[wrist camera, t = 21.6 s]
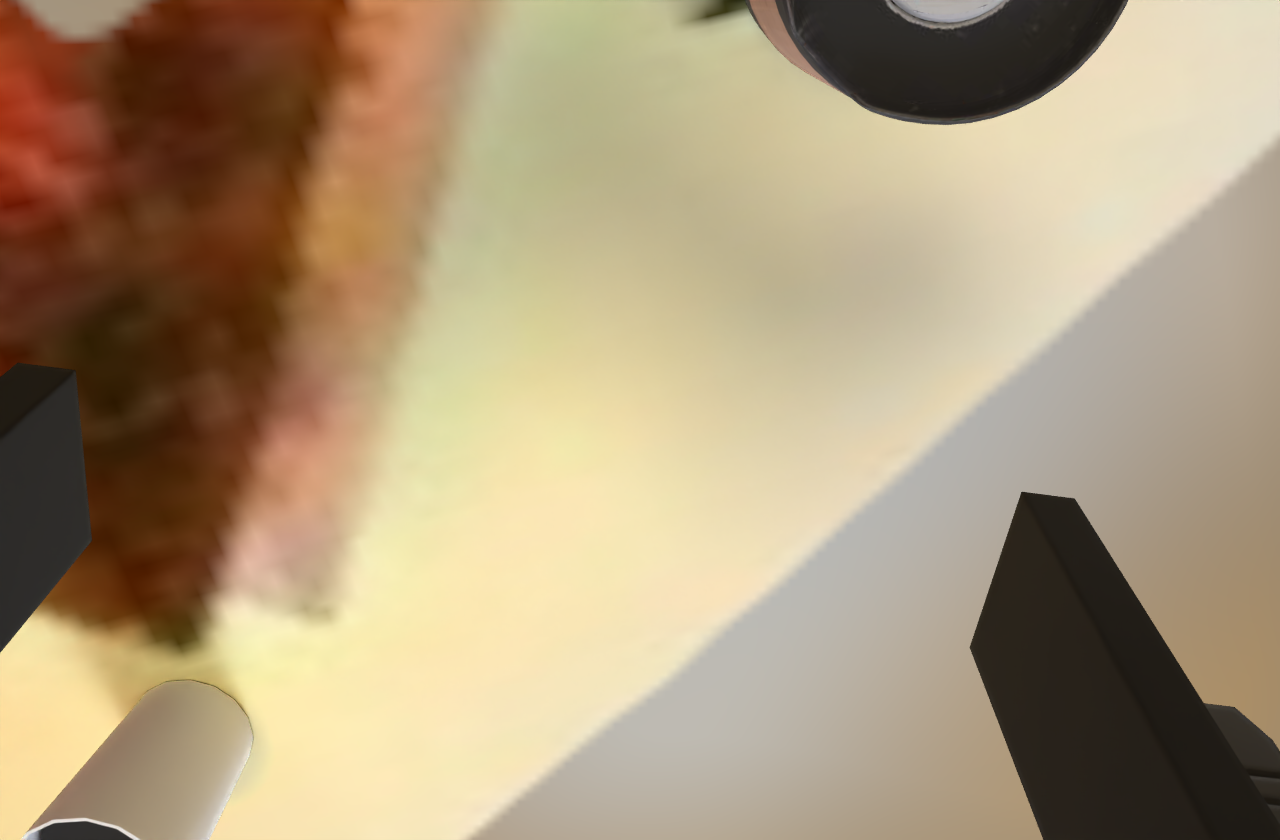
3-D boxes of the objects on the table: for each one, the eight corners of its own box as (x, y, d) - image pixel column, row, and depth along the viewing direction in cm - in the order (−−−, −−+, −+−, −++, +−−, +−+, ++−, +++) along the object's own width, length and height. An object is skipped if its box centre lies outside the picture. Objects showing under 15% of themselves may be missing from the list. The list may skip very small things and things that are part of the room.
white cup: (260, 678, 53) (171, 826, 44) (264, 795, 56) (180, 958, 46) (118, 664, 53) (-1, 808, 44) (127, 781, 56) (16, 942, 46)
